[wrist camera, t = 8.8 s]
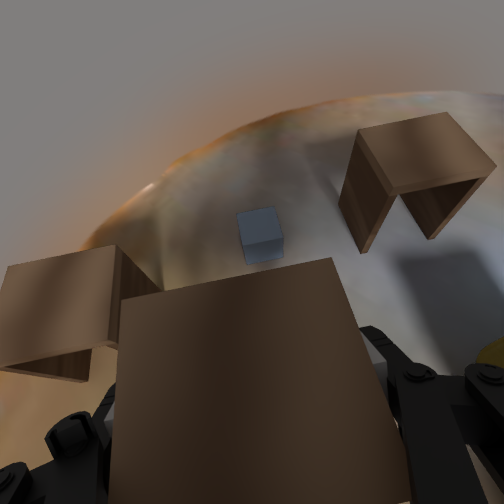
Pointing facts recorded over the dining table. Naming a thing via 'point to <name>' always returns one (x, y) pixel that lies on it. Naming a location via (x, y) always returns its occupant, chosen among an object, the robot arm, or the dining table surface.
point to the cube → (260, 235)
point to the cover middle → (251, 397)
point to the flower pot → (493, 353)
